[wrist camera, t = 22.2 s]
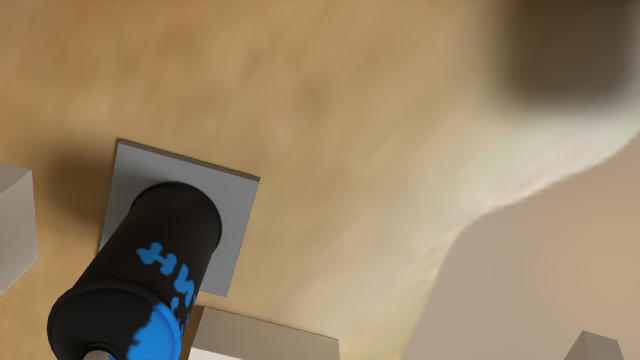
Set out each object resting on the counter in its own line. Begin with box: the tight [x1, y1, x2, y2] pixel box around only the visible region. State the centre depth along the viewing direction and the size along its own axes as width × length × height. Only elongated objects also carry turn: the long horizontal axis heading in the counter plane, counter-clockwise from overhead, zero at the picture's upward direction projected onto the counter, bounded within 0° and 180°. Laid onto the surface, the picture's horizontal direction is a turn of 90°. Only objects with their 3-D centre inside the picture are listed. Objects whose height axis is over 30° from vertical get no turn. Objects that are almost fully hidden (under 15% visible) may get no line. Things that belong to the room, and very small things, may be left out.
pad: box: [99, 139, 260, 297], centre depth 50 cm, size 12×12×1 cm
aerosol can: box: [47, 182, 222, 360], centre depth 40 cm, size 8×8×20 cm
